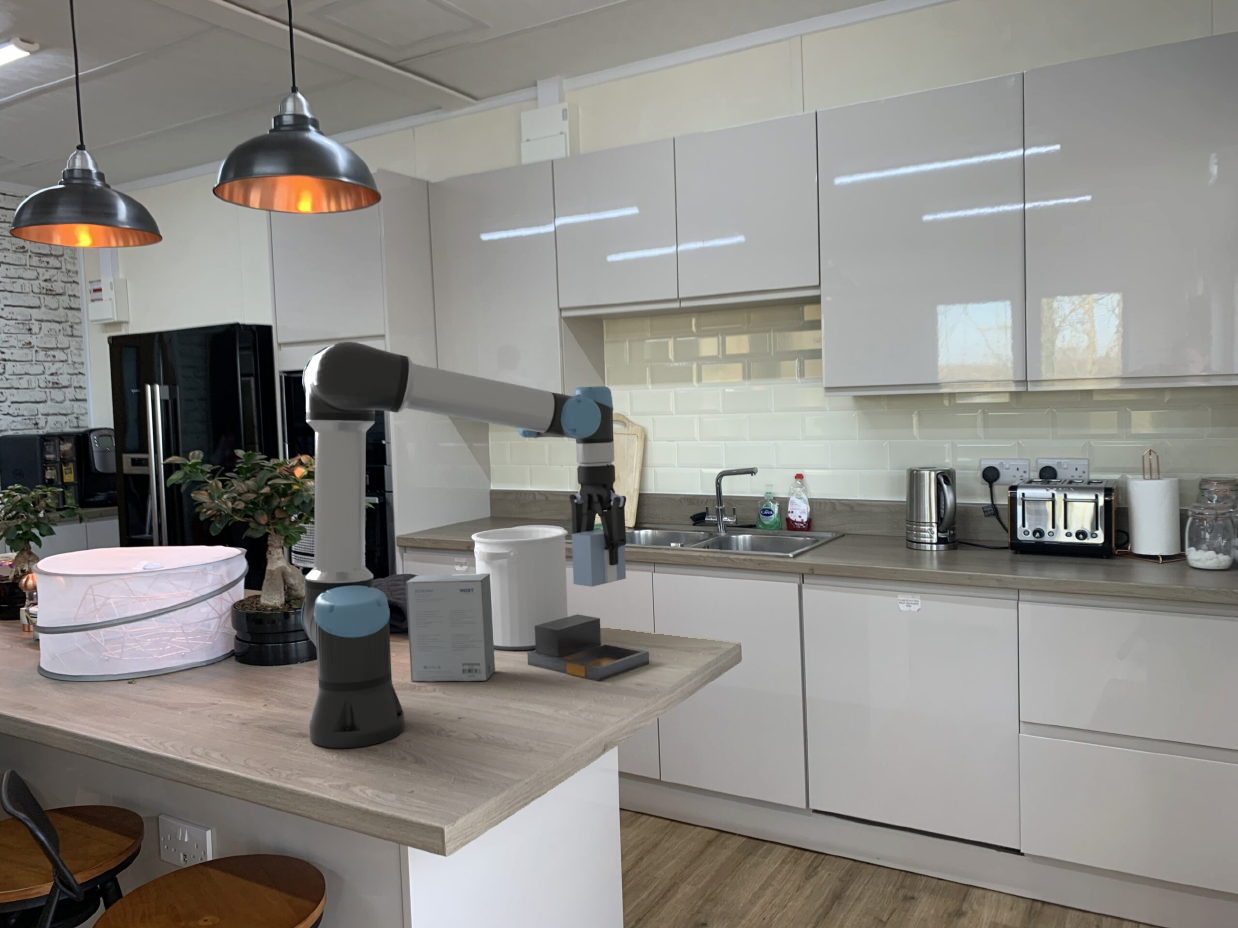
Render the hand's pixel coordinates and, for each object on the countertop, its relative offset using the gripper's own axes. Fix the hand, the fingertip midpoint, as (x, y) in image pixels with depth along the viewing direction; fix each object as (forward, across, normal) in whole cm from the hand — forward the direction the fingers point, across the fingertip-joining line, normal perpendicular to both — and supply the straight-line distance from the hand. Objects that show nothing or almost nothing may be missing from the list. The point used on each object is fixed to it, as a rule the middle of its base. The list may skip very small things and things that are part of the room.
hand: (600, 579), depth 187 cm
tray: (+18, +4, 0) cm, 18 cm away
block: (0, 0, 0) cm, 0 cm away
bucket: (+18, +30, -6) cm, 36 cm away
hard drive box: (+18, +20, +22) cm, 35 cm away
